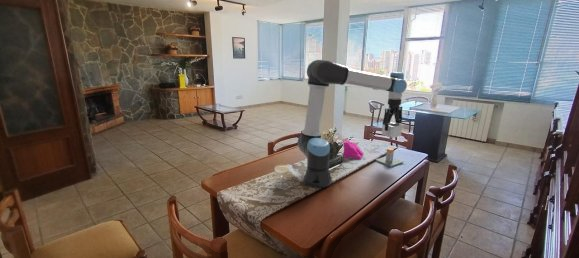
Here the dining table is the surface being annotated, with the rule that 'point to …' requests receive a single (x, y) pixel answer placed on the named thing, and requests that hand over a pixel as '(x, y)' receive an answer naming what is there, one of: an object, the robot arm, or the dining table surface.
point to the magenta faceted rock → (352, 150)
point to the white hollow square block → (393, 130)
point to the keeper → (389, 159)
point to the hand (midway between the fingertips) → (391, 134)
